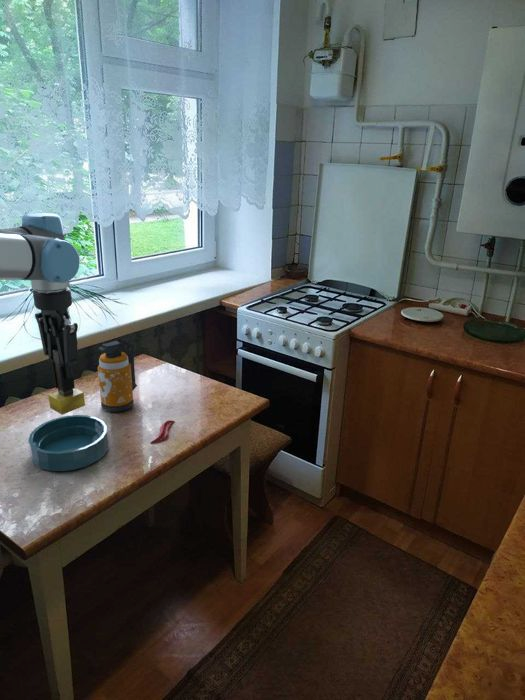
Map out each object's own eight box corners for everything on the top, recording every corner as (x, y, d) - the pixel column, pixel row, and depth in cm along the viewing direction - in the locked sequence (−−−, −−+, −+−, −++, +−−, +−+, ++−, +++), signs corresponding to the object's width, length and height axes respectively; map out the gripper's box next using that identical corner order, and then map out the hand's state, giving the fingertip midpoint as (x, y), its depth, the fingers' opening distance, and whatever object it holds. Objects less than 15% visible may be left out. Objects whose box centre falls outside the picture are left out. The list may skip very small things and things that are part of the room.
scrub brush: (62, 415, 112) (53, 356, 107) (50, 408, 115) (41, 350, 110) (85, 405, 117) (78, 348, 111) (73, 398, 120) (66, 343, 114)
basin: (58, 483, 110) (55, 462, 108) (17, 454, 119) (14, 434, 117) (123, 450, 123) (121, 431, 121) (82, 426, 133) (80, 408, 130)
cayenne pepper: (157, 445, 125) (157, 439, 124) (142, 441, 127) (142, 434, 126) (184, 424, 135) (184, 418, 134) (170, 420, 137) (170, 414, 136)
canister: (95, 406, 143) (88, 341, 136) (127, 394, 151) (123, 332, 144) (113, 417, 138) (107, 350, 130) (145, 403, 146) (142, 340, 138)
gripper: (88, 292, 104) (98, 392, 113) (48, 279, 112) (61, 373, 121) (55, 299, 98) (68, 404, 107) (15, 285, 107) (31, 383, 116)
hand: (64, 387), depth 114 cm, fingers closed on scrub brush, 2 cm apart
